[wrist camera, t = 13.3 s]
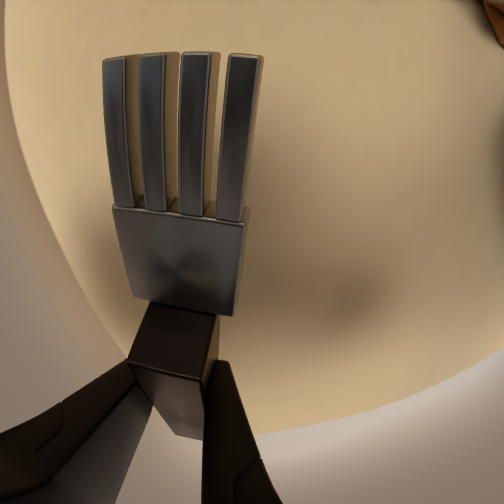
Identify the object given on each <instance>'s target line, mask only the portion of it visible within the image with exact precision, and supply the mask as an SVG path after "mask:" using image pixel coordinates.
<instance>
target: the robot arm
mask: <svg viewBox="0 0 504 504" xmlns="http://www.w3.org/2000/svg"><path fill="white" fill-rule="evenodd" d="M126 361H127V359H125V360H124V361H122V362H121V363H119V364H118V365H116V366H115V367H113V368H112V369H110V370H109V371H107V372H106V373H104V374H102V375H101V376H100V377H98V378H96V379H95V380H93V381H92V382H90V383H89V384H87V385H86V386H84V387H83V388H81V389H80V390H78V391H76V392H75V393H74V394H72V395H70V396H69V397H67V398H66V399H64V400H63V401H62V402H59V403H58V404H56V405H55V406H53V407H51V408H50V409H48V410H46V411H45V412H43V413H41V414H40V415H38V416H36V417H34V418H32V419H30V420H28V421H26V422H24V423H22V424H20V425H18V426H15V427H13V428H11V429H8V430H6V431H4V432H2V433H0V504H115V502H116V499H117V497H118V494H119V491H120V489H121V486H122V484H123V481H124V479H125V476H126V474H127V471H128V468H129V466H130V463H131V461H132V458H133V456H134V453H135V451H136V448H137V446H138V444H139V441H140V438H141V436H142V434H143V431H144V429H145V427H146V424H147V422H148V419H149V417H150V414H151V411H152V407H153V404H152V402H151V401H150V399H149V398H148V396H147V395H146V393H145V392H144V390H143V389H142V387H141V386H140V384H139V383H138V381H137V380H136V378H135V376H134V375H133V373H132V372H131V370H130V368H129V367H128V365H127V362H126ZM260 457H261V456H260V453H259V450H258V447H257V445H256V442H255V439H254V436H253V433H252V431H251V428H250V425H249V422H248V419H247V416H246V413H245V410H244V407H243V404H242V401H241V398H240V395H239V392H238V389H237V386H236V383H235V380H234V376H233V373H232V370H231V367H230V364H229V362H228V361H224V360H218V359H216V360H215V362H214V365H213V369H212V372H211V376H210V380H209V383H208V387H207V391H206V395H205V406H204V426H203V450H202V487H201V488H202V489H201V504H283V503H282V502H281V500H280V498H279V496H278V494H277V492H276V491H275V489H274V487H273V485H272V482H271V480H270V478H269V476H268V473H267V471H266V469H265V466H264V463H263V461H262V459H261V458H260Z"/></svg>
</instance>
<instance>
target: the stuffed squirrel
mask: <svg viewBox="0 0 504 504" xmlns="http://www.w3.org/2000/svg"><path fill="white" fill-rule="evenodd" d="M483 3H484V7H485V10H486V12H487V14H488V17H489V19H490V21H491V23H492V26H493V28H494V31H495V33H496V35H497V38H498V40H499V42H500V43H501V44H502V45H503V46H504V0H483Z"/></svg>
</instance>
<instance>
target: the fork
mask: <svg viewBox="0 0 504 504" xmlns="http://www.w3.org/2000/svg"><path fill="white" fill-rule="evenodd" d="M220 58H221V55H220V53H219V52H201V51H195V52H184V53H182V55H181V66H180V83H179V107H178V194H179V197H178V196H177V97H178V76H179V60H180V53H179V52H159V53H148V54H135V55H126V56H119V57H113V58H107V59H105V60H103V62H102V79H103V108H104V123H105V135H106V145H107V154H108V163H109V170H110V177H111V184H112V190H113V196H114V202H115V203H114V204H113V206H112V213H113V218H114V222H115V227H116V232H117V236H118V240H119V245H120V249H121V253H122V257H123V261H124V264H125V268H126V272H127V275H128V279H129V283H130V286H131V289H132V293H133V296H134V297H135V298H139V299H143V300H148V301H150V303H149V305H148V308H147V310H146V312H145V315H144V317H143V320H142V322H141V325H140V327H139V330H138V332H137V335H136V337H135V340H134V342H133V345H132V347H131V350H130V353H129V355H128V358H127V361H126V362H127V365H128V367H129V368H130V370H131V372H132V373H133V375H134V376H135V378H136V380H137V381H138V383H139V384H140V386H141V387H142V389H143V390H144V392H145V393H146V395H147V396H148V398H149V399H150V401H151V402H152V404H153V405H154V407H155V408H156V409H157V411H158V412H159V414H160V415H161V416H162V418H163V419H164V420H165V422H166V423H167V424H168V426H169V427H170V428H171V429H172V431H173V432H174V433H175V434H176V435H179V436H183V437H188V438H192V439H197V440H202V441H203V426H204V406H205V395H206V391H207V387H208V383H209V380H210V376H211V372H212V369H213V365H214V362H215V360H216V359H218V355H219V330H220V315H224V316H230V317H234V316H235V314H236V310H237V304H238V299H239V291H240V284H241V276H242V268H243V261H244V253H245V246H246V238H247V231H248V223H249V216H250V209H249V207H248V206H245V201H246V193H247V185H248V177H249V169H250V161H251V153H252V145H253V137H254V130H255V122H256V115H257V107H258V100H259V92H260V85H261V78H262V71H263V63H264V57H263V56H261V55H252V54H242V53H231V54H229V56H228V63H227V73H226V82H225V92H224V103H223V114H222V126H221V139H220V152H219V167H218V183H217V201H209V200H210V198H211V176H212V157H213V141H214V126H215V112H216V100H217V89H218V78H219V67H220Z"/></svg>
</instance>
